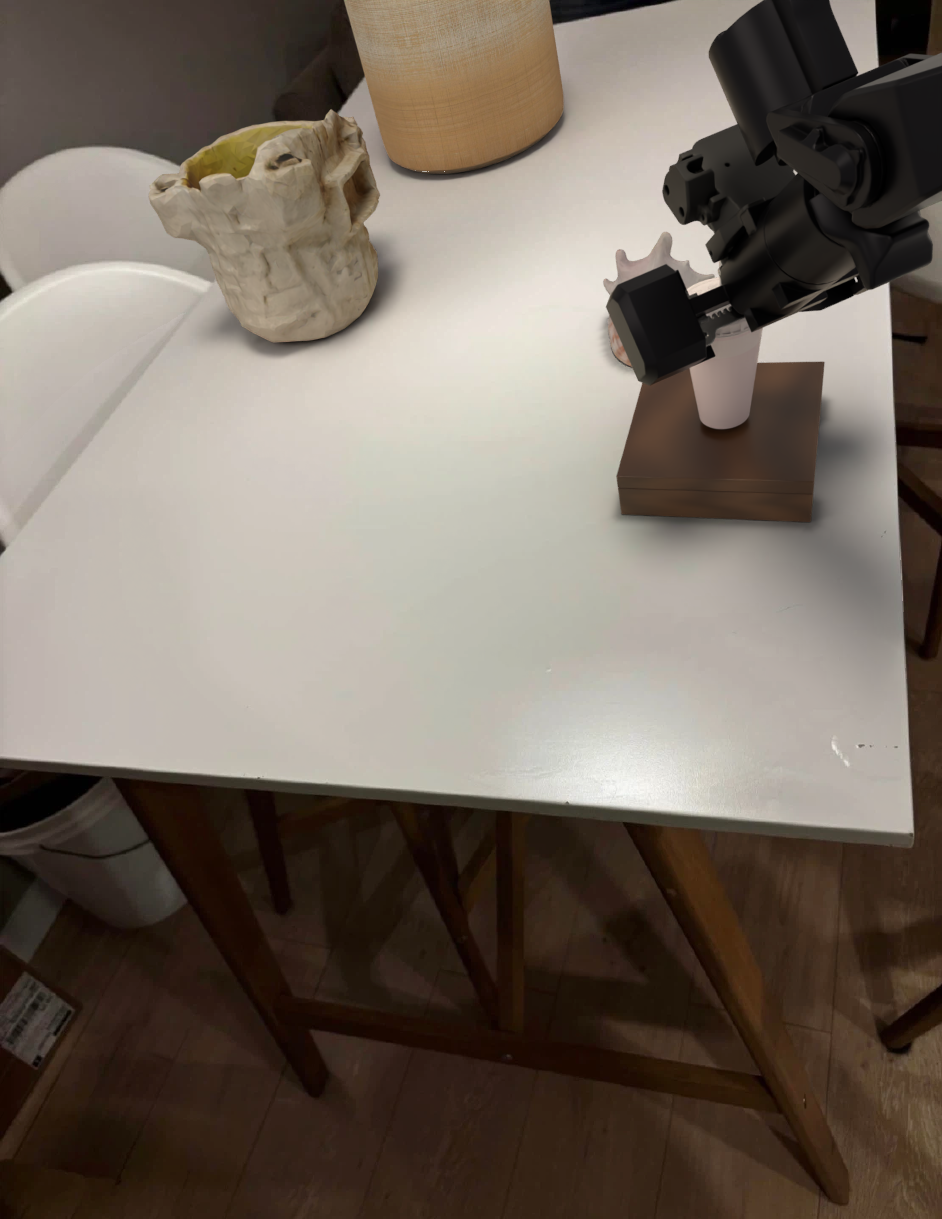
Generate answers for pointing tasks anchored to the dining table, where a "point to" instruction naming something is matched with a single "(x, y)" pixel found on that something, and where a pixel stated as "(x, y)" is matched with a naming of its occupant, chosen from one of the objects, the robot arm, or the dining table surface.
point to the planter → (458, 78)
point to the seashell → (638, 267)
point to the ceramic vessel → (281, 223)
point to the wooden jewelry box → (725, 450)
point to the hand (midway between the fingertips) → (712, 324)
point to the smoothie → (726, 370)
